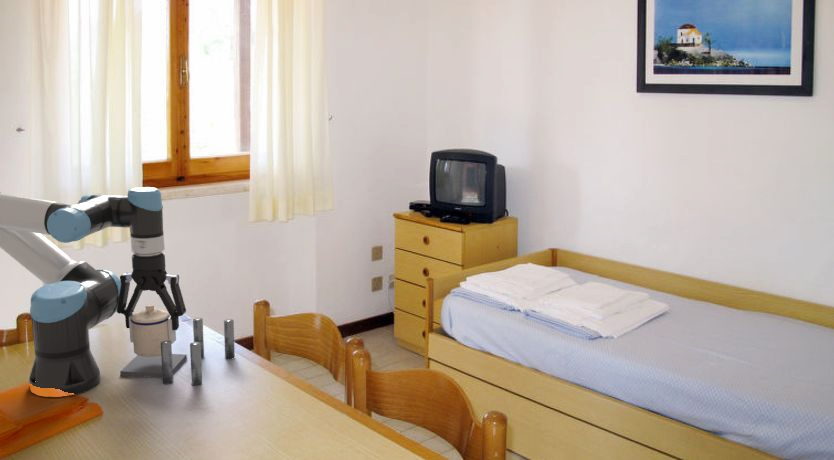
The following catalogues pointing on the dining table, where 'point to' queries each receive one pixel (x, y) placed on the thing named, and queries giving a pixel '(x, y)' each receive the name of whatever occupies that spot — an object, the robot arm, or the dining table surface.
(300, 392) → the dining table surface
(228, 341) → the post back right
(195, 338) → the post back left
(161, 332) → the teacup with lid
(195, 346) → the post front right
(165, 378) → the post front left
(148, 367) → the coaster
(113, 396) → the dining table surface
